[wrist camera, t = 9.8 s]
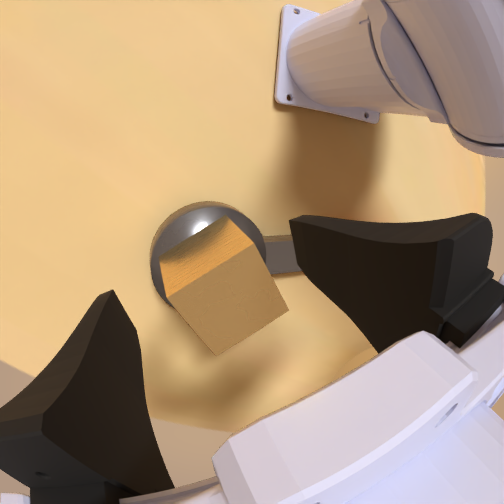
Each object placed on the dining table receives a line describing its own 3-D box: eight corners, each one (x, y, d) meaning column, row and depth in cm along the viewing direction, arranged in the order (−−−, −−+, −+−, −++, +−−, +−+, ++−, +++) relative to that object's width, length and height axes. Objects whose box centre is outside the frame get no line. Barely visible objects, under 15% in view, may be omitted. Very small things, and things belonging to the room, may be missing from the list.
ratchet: (392, 204, 26) (429, 220, 22) (374, 279, 29) (406, 302, 25) (147, 203, 18) (150, 225, 14) (153, 308, 21) (160, 350, 17)
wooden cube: (225, 214, 19) (254, 243, 14) (257, 272, 21) (289, 310, 17) (158, 256, 18) (166, 297, 14) (197, 309, 21) (216, 356, 16)
